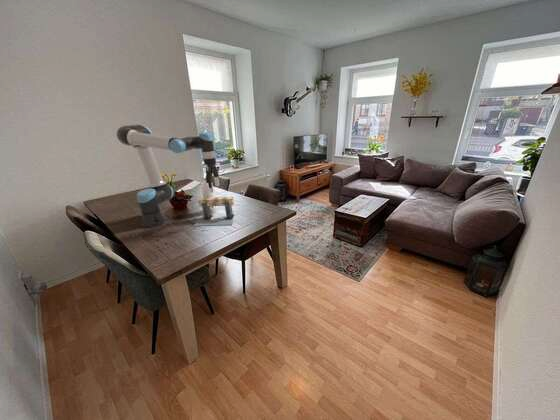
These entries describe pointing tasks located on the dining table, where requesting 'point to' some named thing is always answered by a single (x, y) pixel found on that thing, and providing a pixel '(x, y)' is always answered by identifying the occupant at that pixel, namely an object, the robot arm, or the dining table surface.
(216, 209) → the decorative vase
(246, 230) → the dining table surface
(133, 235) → the dining table surface
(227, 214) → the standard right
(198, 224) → the mat
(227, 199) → the rail
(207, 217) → the standard left
